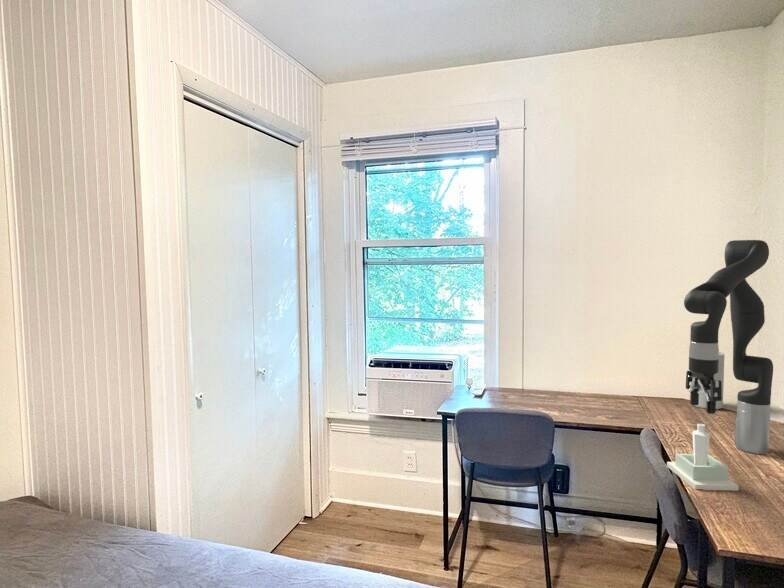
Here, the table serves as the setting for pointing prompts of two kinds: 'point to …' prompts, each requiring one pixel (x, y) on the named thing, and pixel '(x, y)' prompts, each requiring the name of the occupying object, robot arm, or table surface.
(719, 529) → the table surface
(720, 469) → the stand
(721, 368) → the cylinder vase
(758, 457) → the table surface
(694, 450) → the perfume bottle
